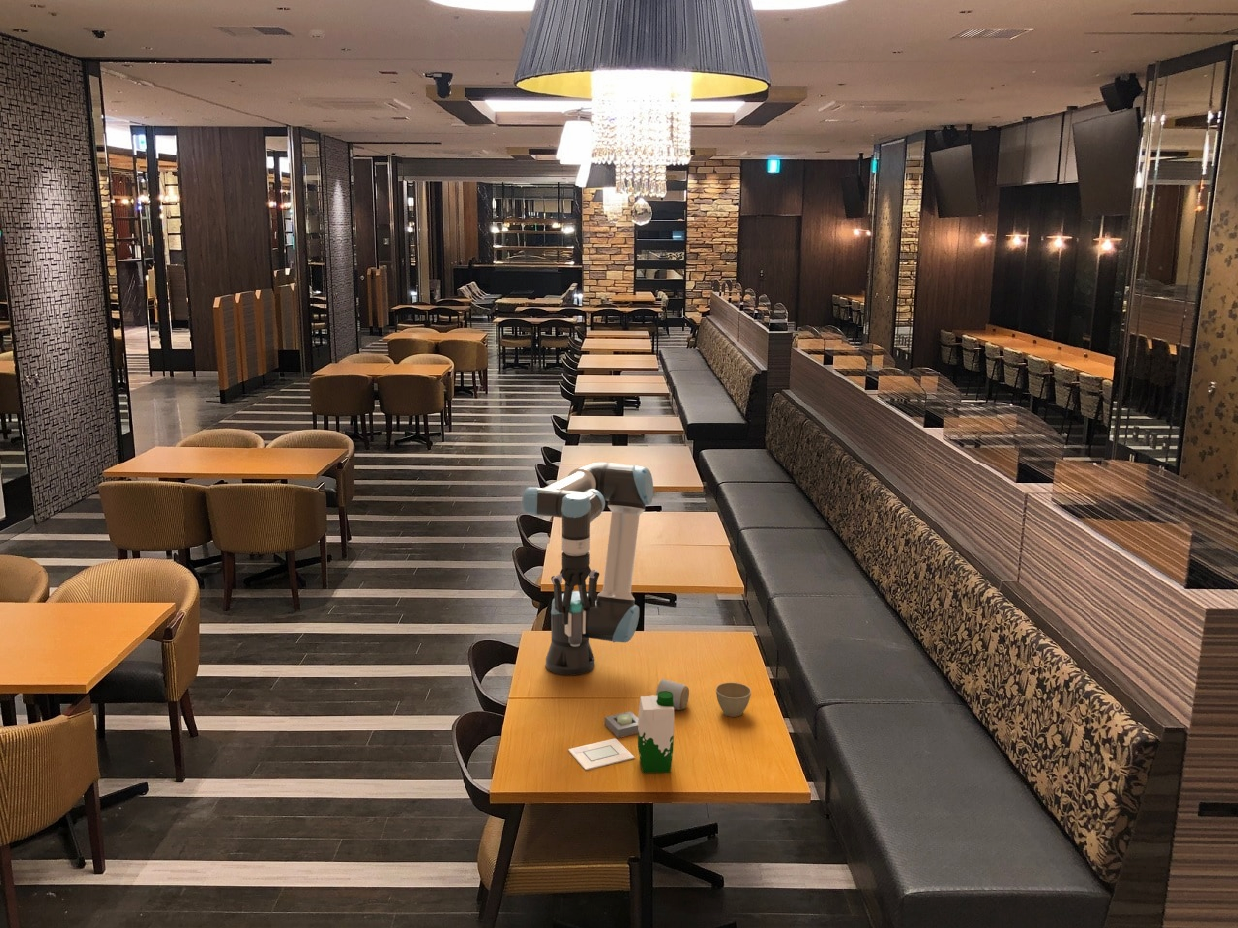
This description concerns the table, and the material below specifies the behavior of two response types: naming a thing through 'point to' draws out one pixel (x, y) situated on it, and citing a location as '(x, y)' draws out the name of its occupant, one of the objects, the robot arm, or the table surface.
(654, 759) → the milk carton
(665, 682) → the ceramic mug
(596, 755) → the sheet
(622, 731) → the button housing
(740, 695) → the flower pot
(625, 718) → the button cap
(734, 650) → the table surface
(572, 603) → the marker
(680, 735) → the table surface
